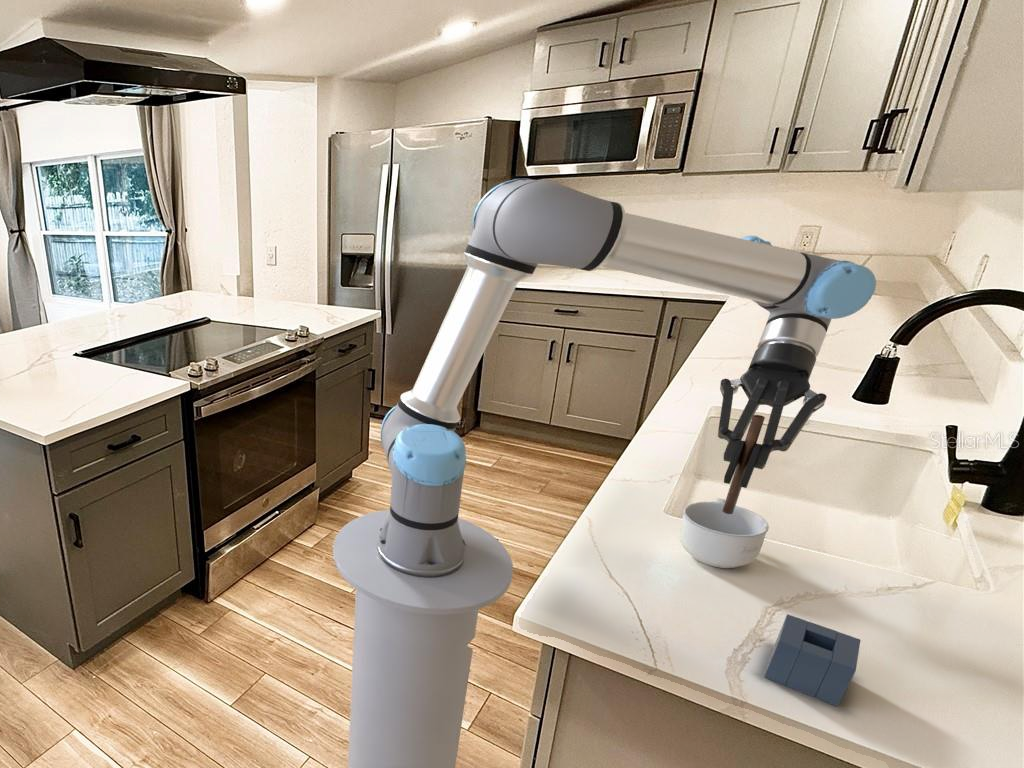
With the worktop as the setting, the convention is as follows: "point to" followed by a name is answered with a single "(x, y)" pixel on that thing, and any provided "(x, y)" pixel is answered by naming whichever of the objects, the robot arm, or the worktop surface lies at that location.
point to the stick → (743, 463)
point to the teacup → (722, 534)
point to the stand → (813, 659)
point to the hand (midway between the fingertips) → (735, 482)
